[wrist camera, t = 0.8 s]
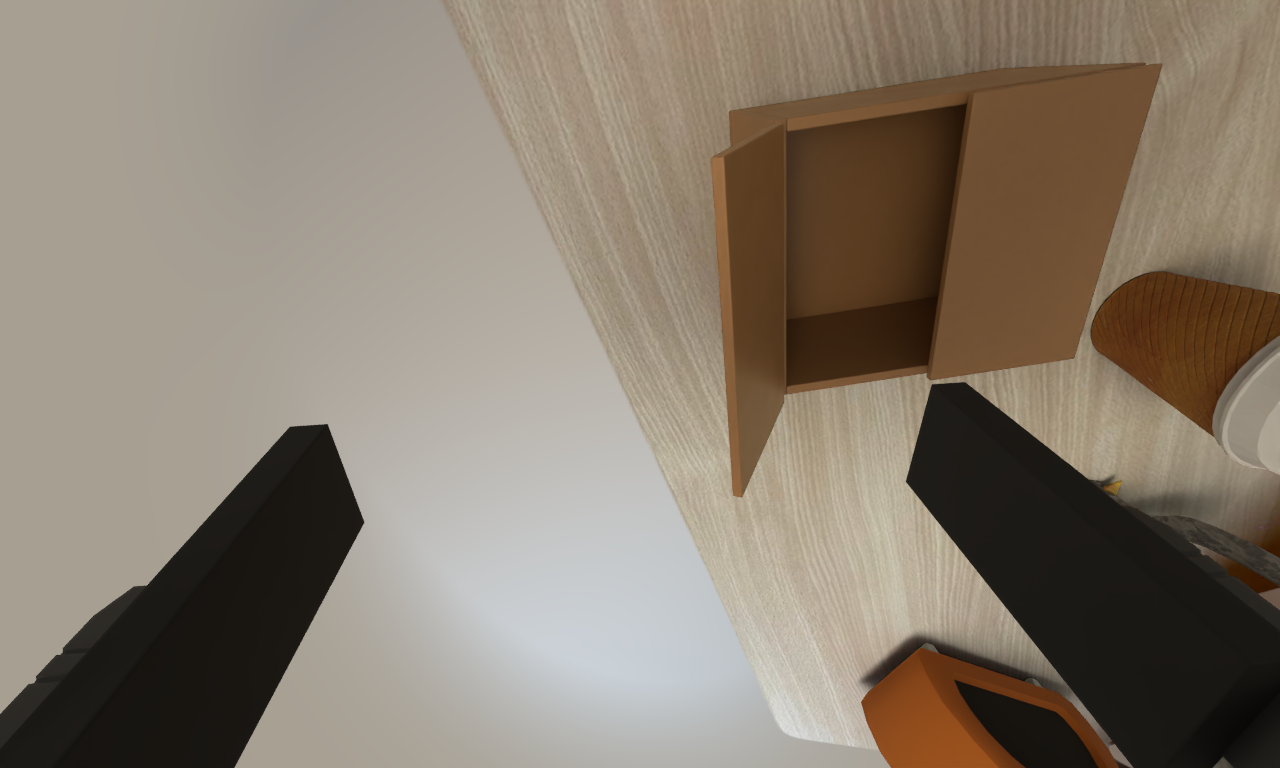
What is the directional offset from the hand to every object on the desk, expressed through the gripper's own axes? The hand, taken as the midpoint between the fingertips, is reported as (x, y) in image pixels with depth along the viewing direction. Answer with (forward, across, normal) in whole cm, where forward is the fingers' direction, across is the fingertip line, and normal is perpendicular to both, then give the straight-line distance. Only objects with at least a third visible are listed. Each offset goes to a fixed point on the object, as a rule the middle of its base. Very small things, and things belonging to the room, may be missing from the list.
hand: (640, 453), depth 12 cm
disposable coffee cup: (+22, +36, -8) cm, 43 cm away
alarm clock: (+22, +34, -49) cm, 64 cm away
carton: (+22, +15, 0) cm, 27 cm away
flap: (+10, +6, -1) cm, 11 cm away
